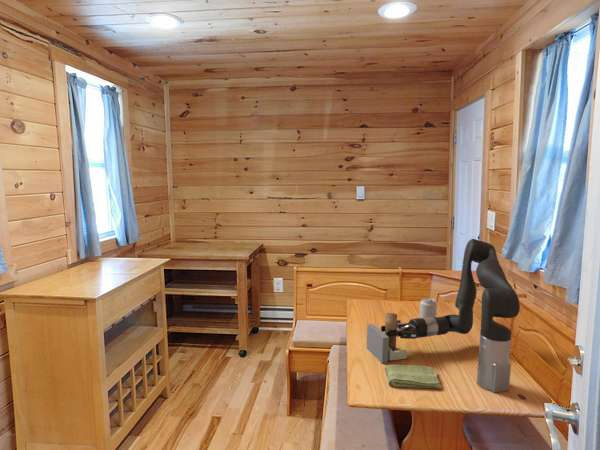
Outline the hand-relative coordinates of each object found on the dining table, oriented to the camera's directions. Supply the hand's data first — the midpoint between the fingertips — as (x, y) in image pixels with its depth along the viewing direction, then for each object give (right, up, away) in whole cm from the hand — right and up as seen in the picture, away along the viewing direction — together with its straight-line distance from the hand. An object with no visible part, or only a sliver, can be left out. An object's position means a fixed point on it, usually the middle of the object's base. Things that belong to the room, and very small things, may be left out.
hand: (384, 331), depth 161 cm
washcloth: (+6, -13, -18) cm, 23 cm away
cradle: (+3, -9, +2) cm, 10 cm away
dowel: (+3, -7, +2) cm, 8 cm away
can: (+27, -6, +34) cm, 44 cm away
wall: (-3, -9, 0) cm, 10 cm away
